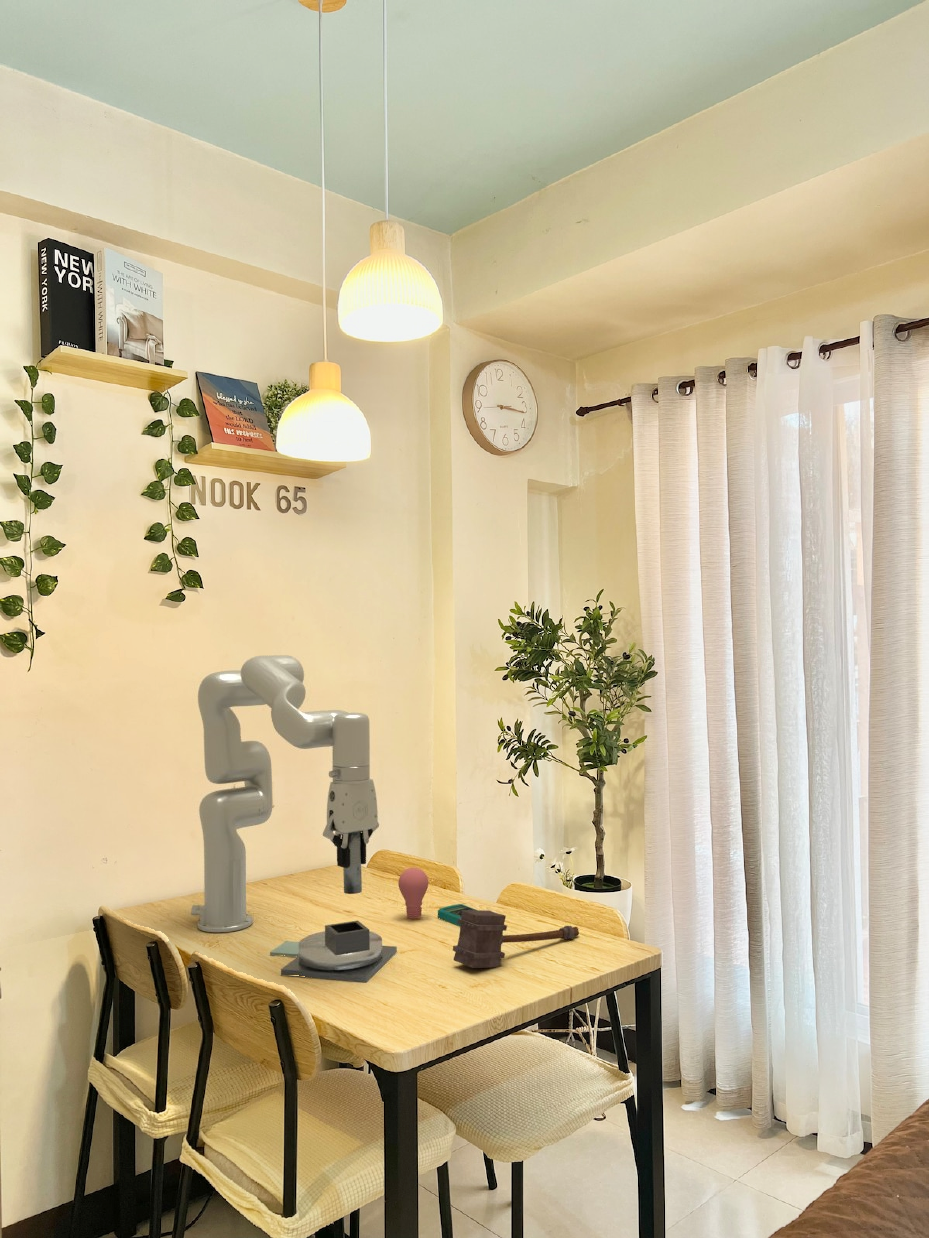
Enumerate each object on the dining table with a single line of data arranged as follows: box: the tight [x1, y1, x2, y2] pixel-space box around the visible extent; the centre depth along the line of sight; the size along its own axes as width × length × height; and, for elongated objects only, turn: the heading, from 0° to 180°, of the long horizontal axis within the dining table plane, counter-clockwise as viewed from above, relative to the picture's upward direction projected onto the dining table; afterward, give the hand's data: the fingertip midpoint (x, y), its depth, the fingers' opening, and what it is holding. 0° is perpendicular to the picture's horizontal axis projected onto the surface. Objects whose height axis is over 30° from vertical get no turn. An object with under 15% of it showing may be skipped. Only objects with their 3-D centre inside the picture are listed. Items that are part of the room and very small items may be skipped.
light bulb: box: [398, 867, 429, 919], centre depth 219 cm, size 7×7×12 cm
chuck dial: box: [298, 920, 383, 970], centre depth 188 cm, size 17×17×7 cm
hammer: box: [452, 909, 580, 969], centre depth 193 cm, size 7×33×10 cm, turn 130°
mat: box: [269, 940, 300, 957], centre depth 196 cm, size 8×8×1 cm
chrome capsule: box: [342, 831, 363, 895], centre depth 186 cm, size 4×4×12 cm
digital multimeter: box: [437, 903, 478, 927], centre depth 215 cm, size 7×15×3 cm, turn 36°
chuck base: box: [280, 945, 398, 983], centre depth 188 cm, size 18×18×1 cm
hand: (351, 863), depth 186 cm, fingers closed on chrome capsule, 3 cm apart
